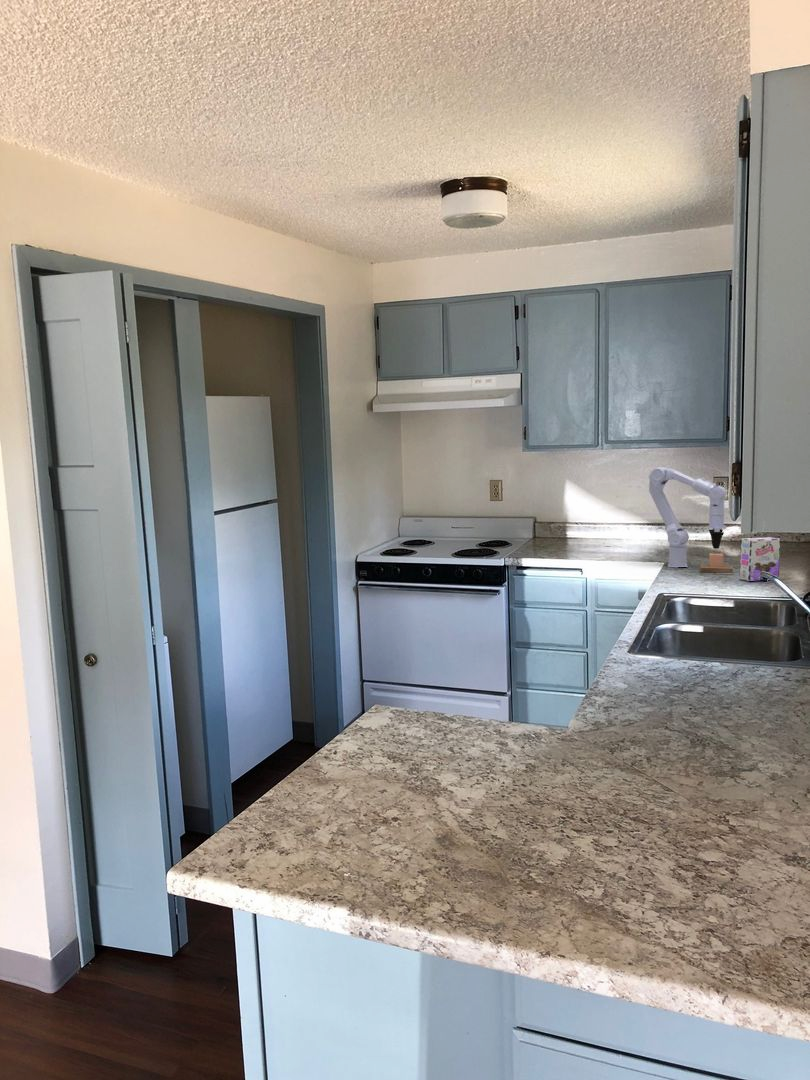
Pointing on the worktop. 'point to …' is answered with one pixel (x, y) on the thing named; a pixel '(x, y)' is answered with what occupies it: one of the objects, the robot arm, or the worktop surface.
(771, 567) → the candy box
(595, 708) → the worktop surface
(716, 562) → the terracotta cube
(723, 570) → the walnut block
